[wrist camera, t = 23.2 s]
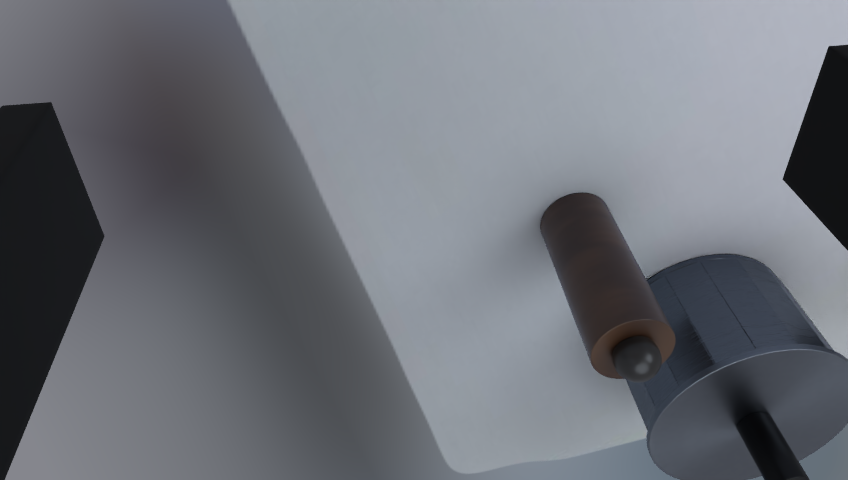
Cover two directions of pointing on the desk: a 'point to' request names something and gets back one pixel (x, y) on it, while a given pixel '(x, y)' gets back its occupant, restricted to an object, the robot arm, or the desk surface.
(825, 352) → the pot lid
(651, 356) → the pepper mill
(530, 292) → the desk surface
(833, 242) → the desk surface
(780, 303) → the pot
